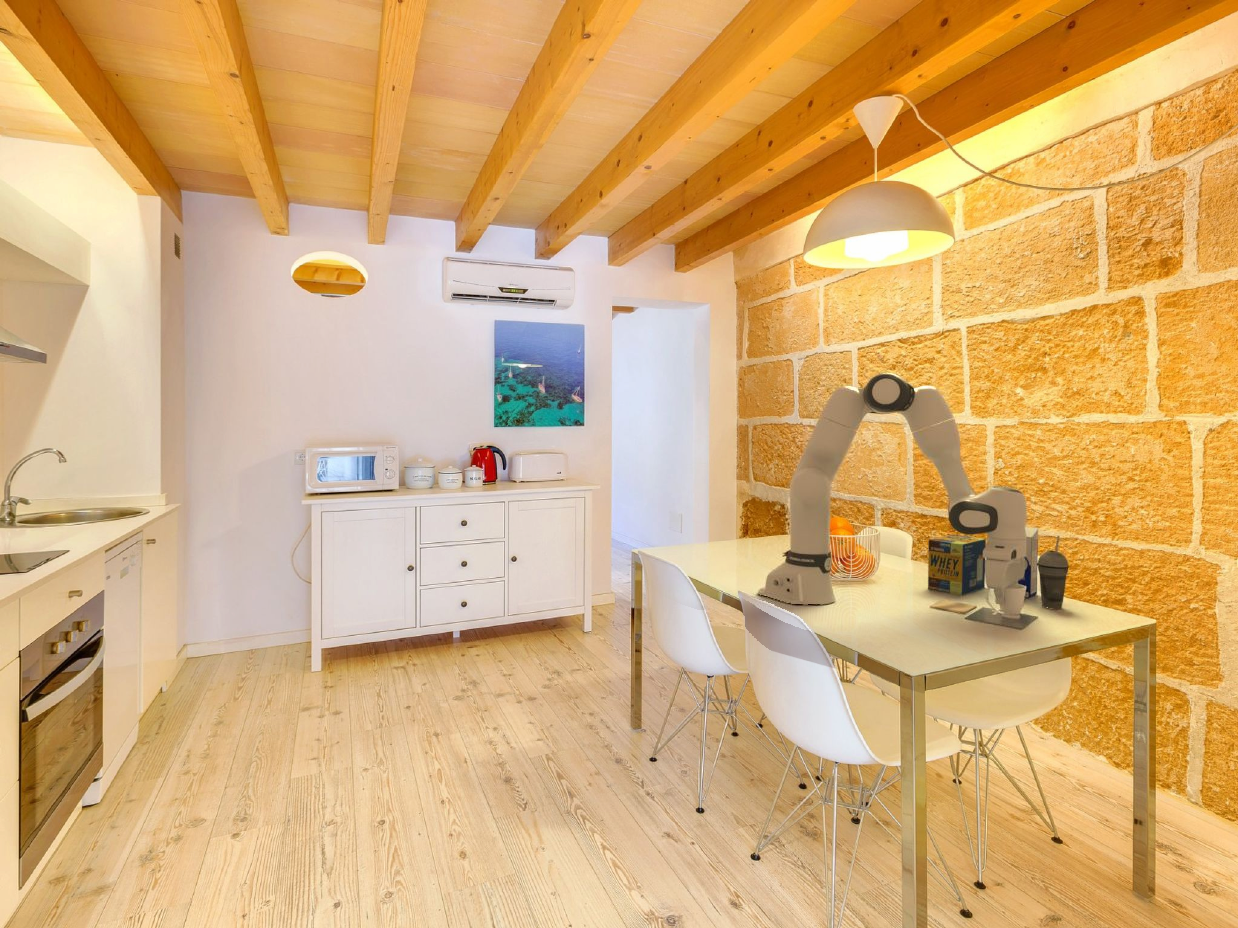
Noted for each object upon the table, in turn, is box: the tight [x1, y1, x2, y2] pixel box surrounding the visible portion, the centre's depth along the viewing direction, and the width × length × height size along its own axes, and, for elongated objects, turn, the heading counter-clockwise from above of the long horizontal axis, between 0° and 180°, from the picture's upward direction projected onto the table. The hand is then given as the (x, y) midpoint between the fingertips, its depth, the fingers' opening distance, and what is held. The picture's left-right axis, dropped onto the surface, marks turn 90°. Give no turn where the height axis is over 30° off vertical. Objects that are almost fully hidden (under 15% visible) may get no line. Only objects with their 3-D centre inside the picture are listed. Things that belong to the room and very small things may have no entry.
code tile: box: [964, 606, 1039, 630], centre depth 168 cm, size 13×14×1 cm
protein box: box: [927, 534, 987, 596], centre depth 199 cm, size 10×15×16 cm
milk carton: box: [1018, 526, 1040, 599], centre depth 190 cm, size 7×7×20 cm
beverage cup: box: [1037, 535, 1070, 610], centre depth 177 cm, size 7×7×20 cm
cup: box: [985, 583, 1026, 618], centre depth 170 cm, size 7×10×8 cm
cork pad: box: [929, 599, 977, 615], centre depth 178 cm, size 9×9×1 cm
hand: (1005, 600), depth 170 cm, fingers open, 8 cm apart
